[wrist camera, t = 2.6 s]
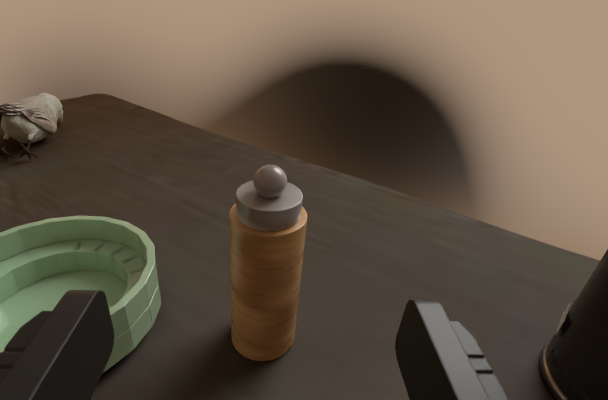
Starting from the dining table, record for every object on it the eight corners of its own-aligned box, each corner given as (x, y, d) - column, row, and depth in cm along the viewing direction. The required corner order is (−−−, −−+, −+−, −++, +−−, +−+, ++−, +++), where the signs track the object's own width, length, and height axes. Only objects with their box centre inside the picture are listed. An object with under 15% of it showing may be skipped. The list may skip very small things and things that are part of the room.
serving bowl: (179, 264, 34) (175, 219, 32) (125, 411, 22) (111, 357, 20) (23, 259, 33) (5, 212, 30) (-124, 412, 21) (-172, 355, 19)
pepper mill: (293, 310, 30) (309, 152, 23) (295, 361, 26) (315, 188, 19) (235, 309, 30) (233, 148, 23) (227, 361, 26) (223, 183, 19)
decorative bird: (77, 124, 62) (67, 79, 59) (37, 163, 49) (21, 108, 45) (42, 124, 61) (29, 78, 58) (-9, 164, 48) (-30, 107, 44)
